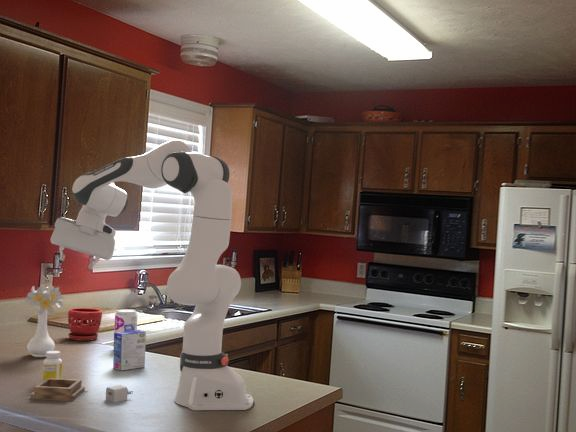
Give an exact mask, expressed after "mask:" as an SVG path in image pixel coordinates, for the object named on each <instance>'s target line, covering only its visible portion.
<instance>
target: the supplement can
mask: <svg viewBox="0 0 576 432" xmlns="http://www.w3.org/2000/svg"><path fill="white" fill-rule="evenodd" d="M129 324H132V325H133V327H134V330H138V312H137V310H135V309H129V308H128V309H127V308H125V309H117V310H116V312H115V314H114V332H113V334H114V333H117V332H125V331H124V325H129ZM126 329H132V327H130V326H128V327H126Z"/></svg>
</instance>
